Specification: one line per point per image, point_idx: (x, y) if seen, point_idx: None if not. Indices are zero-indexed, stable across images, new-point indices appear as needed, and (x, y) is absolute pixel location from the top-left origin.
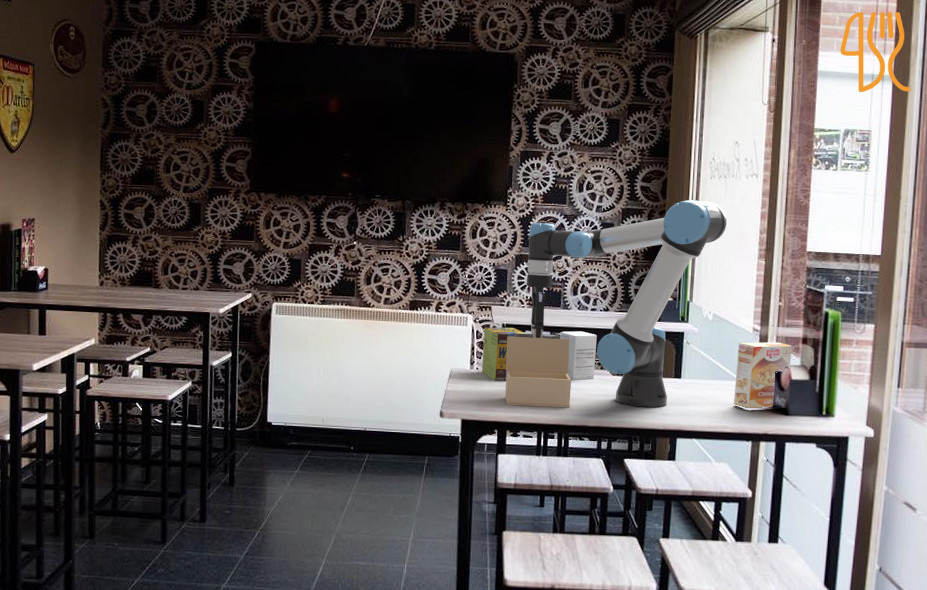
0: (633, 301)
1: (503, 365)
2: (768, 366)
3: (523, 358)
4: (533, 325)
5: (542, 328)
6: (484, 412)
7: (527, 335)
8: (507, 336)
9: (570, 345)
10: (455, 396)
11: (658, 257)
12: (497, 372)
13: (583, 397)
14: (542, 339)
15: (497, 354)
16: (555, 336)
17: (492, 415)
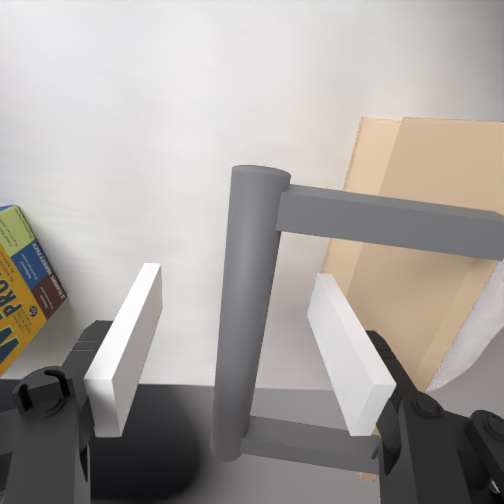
0: None
1: (27, 307)
2: None
3: None
4: (112, 426)
5: (434, 400)
6: (465, 343)
7: (252, 397)
8: (369, 480)
9: None
10: (307, 383)
11: None
12: (51, 308)
13: (307, 15)
14: (447, 336)
15: (11, 359)
16: (417, 246)
17: (495, 331)
